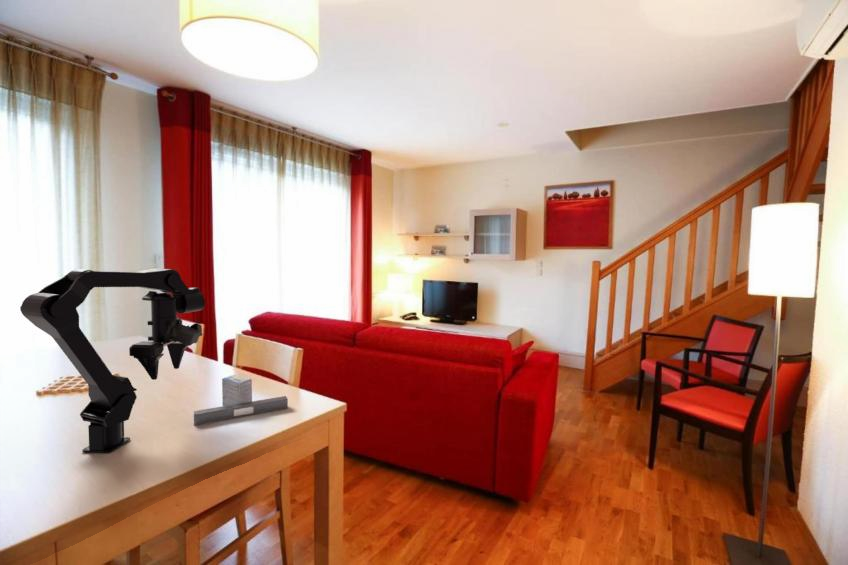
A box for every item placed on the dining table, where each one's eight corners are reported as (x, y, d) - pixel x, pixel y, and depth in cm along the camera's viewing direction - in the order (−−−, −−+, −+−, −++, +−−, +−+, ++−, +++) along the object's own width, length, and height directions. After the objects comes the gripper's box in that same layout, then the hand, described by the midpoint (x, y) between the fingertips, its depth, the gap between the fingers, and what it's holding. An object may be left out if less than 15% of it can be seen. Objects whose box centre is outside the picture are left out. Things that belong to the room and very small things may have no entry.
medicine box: (252, 407, 117) (252, 378, 117) (239, 412, 114) (239, 382, 113) (235, 401, 121) (235, 373, 120) (221, 406, 117) (221, 377, 117)
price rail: (194, 426, 104) (194, 415, 104) (193, 421, 106) (193, 411, 106) (287, 408, 117) (287, 399, 117) (285, 405, 119) (285, 395, 119)
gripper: (173, 323, 95) (174, 386, 96) (213, 311, 113) (214, 364, 115) (126, 322, 95) (128, 385, 96) (174, 310, 113) (175, 363, 115)
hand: (165, 373), depth 105 cm, fingers open, 9 cm apart
